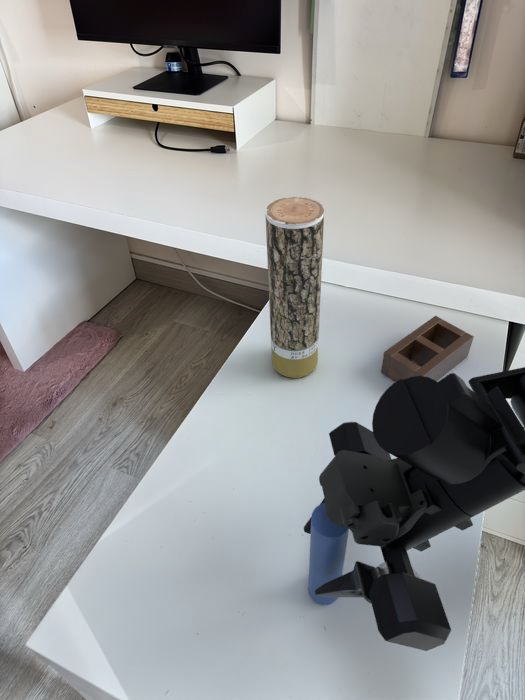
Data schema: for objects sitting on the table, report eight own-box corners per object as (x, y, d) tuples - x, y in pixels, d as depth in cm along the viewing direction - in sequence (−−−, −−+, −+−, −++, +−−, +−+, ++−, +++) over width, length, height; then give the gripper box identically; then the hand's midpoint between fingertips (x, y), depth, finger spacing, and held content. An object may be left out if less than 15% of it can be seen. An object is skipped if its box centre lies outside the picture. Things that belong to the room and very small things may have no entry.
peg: (346, 589, 51) (358, 520, 42) (324, 611, 50) (330, 545, 40) (323, 566, 53) (330, 495, 44) (301, 586, 52) (303, 517, 42)
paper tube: (321, 352, 77) (329, 199, 60) (311, 384, 72) (316, 228, 55) (279, 345, 79) (274, 194, 62) (266, 375, 74) (257, 221, 57)
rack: (467, 356, 75) (474, 336, 72) (417, 396, 70) (422, 376, 67) (430, 335, 79) (435, 315, 76) (380, 371, 73) (383, 351, 71)
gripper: (359, 356, 43) (239, 449, 50) (439, 579, 29) (257, 663, 36) (433, 407, 48) (316, 484, 55) (529, 613, 35) (357, 680, 42)
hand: (312, 561), depth 47 cm, fingers open, 6 cm apart
